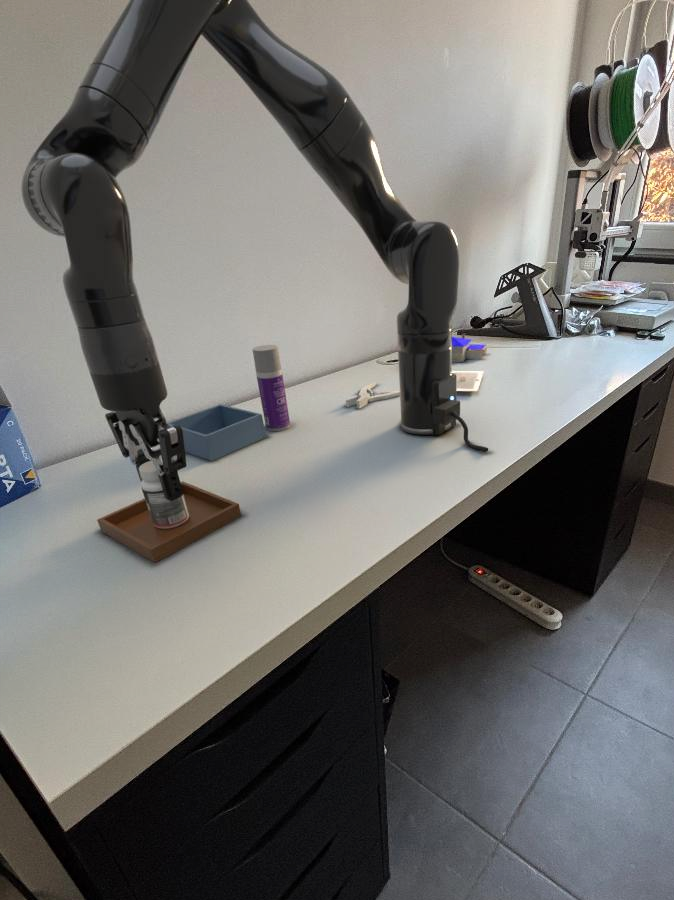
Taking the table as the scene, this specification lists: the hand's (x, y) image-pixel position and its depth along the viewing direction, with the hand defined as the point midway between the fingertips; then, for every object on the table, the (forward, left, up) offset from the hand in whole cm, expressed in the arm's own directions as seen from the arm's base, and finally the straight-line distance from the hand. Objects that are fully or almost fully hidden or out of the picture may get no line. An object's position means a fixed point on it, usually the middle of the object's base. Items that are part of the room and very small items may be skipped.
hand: (163, 492), depth 70 cm
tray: (0, 0, -5) cm, 5 cm away
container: (+15, -33, -5) cm, 37 cm away
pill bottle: (0, 0, -5) cm, 5 cm away
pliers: (+10, -56, -5) cm, 57 cm away
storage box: (+19, -22, -5) cm, 29 cm away
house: (+12, -92, -5) cm, 93 cm away
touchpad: (-3, -72, -5) cm, 72 cm away
